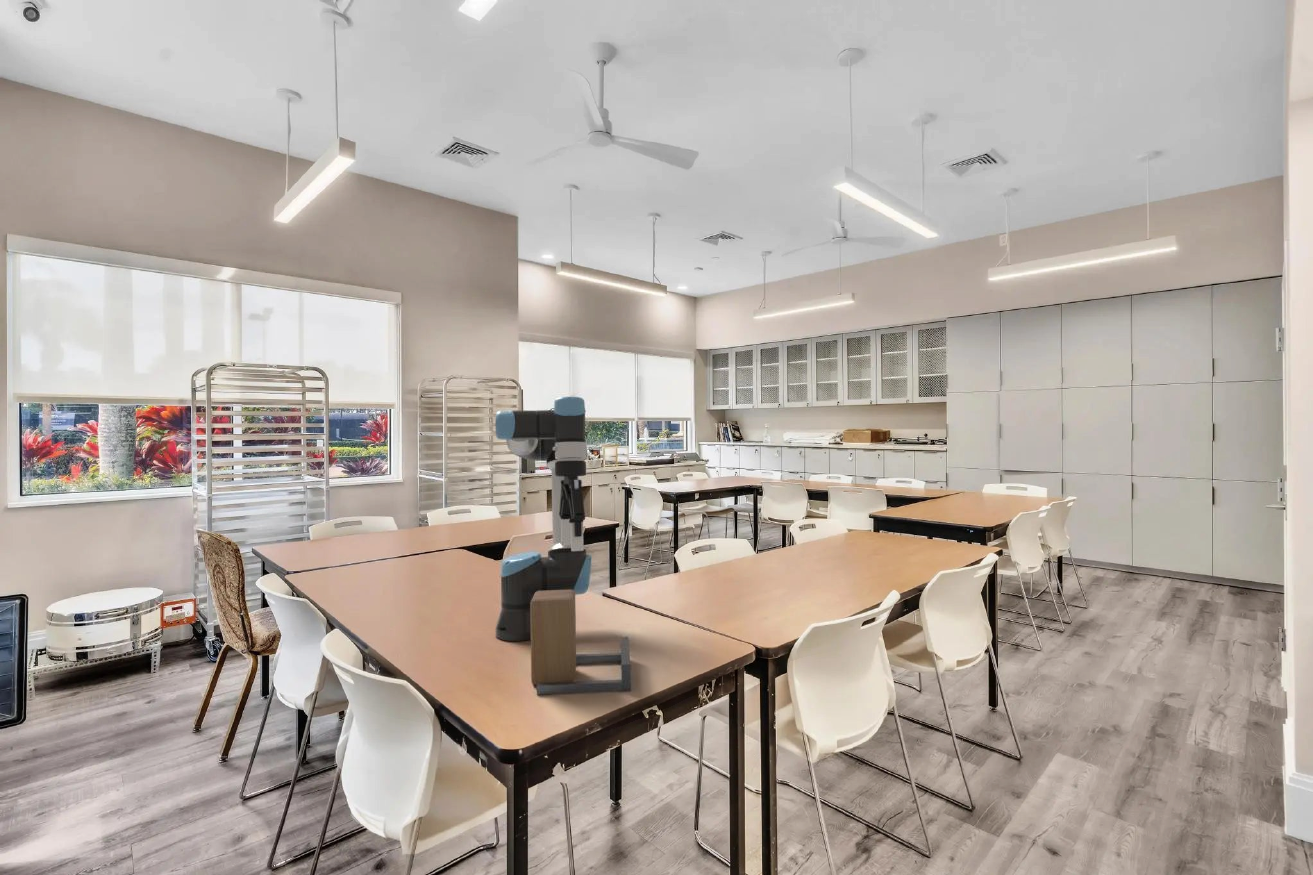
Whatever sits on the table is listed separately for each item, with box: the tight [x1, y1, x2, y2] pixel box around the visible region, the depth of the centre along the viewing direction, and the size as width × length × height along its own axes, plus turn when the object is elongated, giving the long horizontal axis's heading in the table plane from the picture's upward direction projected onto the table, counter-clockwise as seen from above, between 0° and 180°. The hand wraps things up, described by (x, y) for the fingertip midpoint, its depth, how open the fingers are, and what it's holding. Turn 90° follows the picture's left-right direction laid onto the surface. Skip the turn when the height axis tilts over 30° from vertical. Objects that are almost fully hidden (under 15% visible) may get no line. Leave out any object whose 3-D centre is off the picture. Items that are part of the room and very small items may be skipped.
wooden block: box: [530, 590, 577, 686], centre depth 145 cm, size 10×10×20 cm
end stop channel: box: [536, 636, 632, 696], centre depth 146 cm, size 21×20×6 cm
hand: (571, 548), depth 146 cm, fingers open, 13 cm apart
